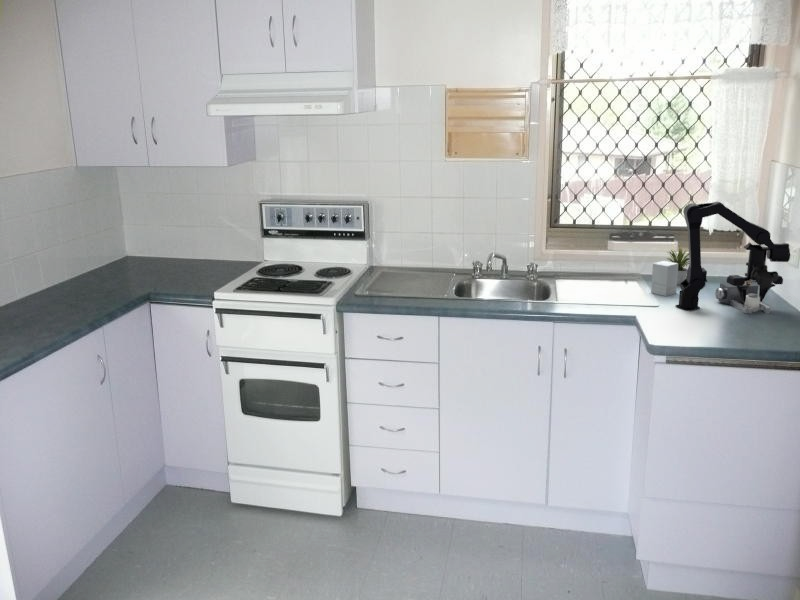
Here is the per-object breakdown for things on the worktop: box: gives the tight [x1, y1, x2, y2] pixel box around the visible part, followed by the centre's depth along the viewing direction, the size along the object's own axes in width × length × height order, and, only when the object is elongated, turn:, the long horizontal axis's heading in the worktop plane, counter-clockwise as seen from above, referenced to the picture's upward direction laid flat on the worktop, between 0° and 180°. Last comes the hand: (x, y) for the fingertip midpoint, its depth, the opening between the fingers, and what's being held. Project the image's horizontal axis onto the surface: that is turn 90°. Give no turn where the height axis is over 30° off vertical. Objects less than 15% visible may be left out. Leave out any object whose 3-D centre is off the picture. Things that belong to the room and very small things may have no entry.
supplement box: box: [650, 260, 678, 297], centre depth 291 cm, size 7×7×13 cm
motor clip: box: [714, 282, 771, 315], centre depth 271 cm, size 14×18×8 cm
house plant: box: [666, 246, 689, 286], centre depth 303 cm, size 14×14×16 cm
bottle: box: [743, 293, 760, 313], centre depth 267 cm, size 5×5×6 cm
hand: (752, 301), depth 267 cm, fingers open, 6 cm apart
